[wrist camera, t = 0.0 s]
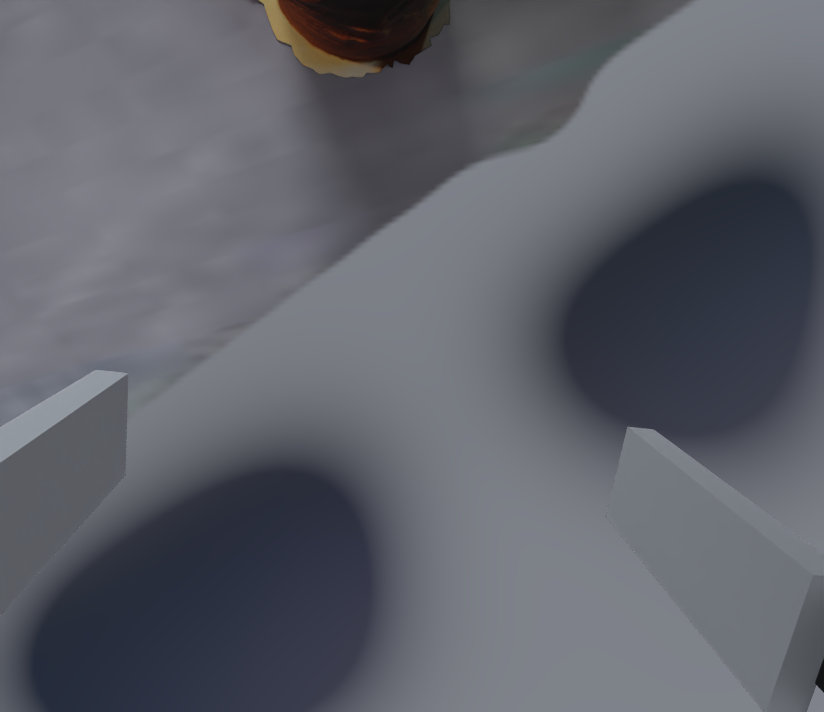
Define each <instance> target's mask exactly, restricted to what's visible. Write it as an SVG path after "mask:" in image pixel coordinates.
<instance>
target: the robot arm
mask: <svg viewBox="0 0 824 712" xmlns="http://www.w3.org/2000/svg"><path fill="white" fill-rule="evenodd" d="M127 399H128V373H120V372H111V371H101V370H95V371H93V372H91V373H90V374H88V375H86V376H85V377H83V378H81V379H80V380H78V381H76V382H75V383H73V384H71V385H69V386H68V387H66V388H64V389H63V390H61V391H59V392H58V393H56V394H54V395H53V396H51V397H49V398H48V399H46V400H44V401H43V402H41V403H39V404H38V405H36V406H34V407H33V408H31V409H29V410H28V411H26V412H24V413H23V414H21V415H19V416H18V417H16V418H14V419H13V420H11V421H9V422H8V423H6V424H4V425H3V426H1V427H0V616H1V615H2V614H3V613H4V612H5V610H6V609H7V608H8V607H9V606H10V605H11V604H12V603H13V601H14V600H15V599H16V598H17V597H18V596H19V594H20V593H21V592H22V591H23V590H24V589H25V588H26V587H27V586H28V585H29V583H30V582H31V581H32V580H33V579H34V578H35V577H36V575H37V574H38V573H39V572H40V571H41V570H42V569H43V568H44V567H45V565H46V564H47V563H48V562H49V561H50V560H51V559H52V557H53V556H54V555H55V554H56V553H57V552H58V551H59V550H60V549H61V547H62V546H63V545H64V544H65V543H66V542H67V541H68V539H69V538H70V537H71V536H72V535H73V534H74V533H75V532H76V530H77V529H78V528H79V527H80V526H81V525H82V524H83V522H84V521H85V520H86V519H87V518H88V517H89V516H90V515H91V514H92V512H93V511H94V510H95V509H96V508H97V507H98V506H99V505H100V503H101V502H102V501H103V500H104V499H105V498H106V497H107V496H108V494H109V493H110V492H111V491H112V490H113V489H114V487H115V486H116V485H117V484H118V483H119V482H120V481H121V480H122V479H123V478H124V476H125V470H126V435H127V432H126V430H127ZM606 518H607V519H608V520H609V522H610V523H611V524H612V525H613V527H614V528H615V529H616V530H617V531H618V533H619V534H620V535H621V536H622V538H623V539H624V540H625V541H626V543H627V544H628V545H629V546H630V548H631V549H632V550H633V551H634V552H635V554H636V555H637V556H638V557H639V559H640V560H641V561H642V562H643V563H644V565H645V566H646V567H647V568H648V570H649V571H650V572H651V573H652V575H653V576H654V577H655V578H656V579H657V581H658V582H659V583H660V585H662V587H663V588H664V589H665V591H666V592H667V593H668V594H669V596H670V597H671V598H672V599H673V601H674V602H675V603H676V604H677V605H678V607H679V608H680V609H681V610H682V612H683V613H684V614H685V615H686V616H687V618H688V619H689V620H690V622H691V623H692V624H693V625H694V627H695V628H696V629H697V630H698V631H699V633H700V634H701V635H702V636H703V638H704V639H705V640H706V641H707V643H708V644H709V645H710V646H711V647H712V649H713V650H714V651H715V652H716V654H717V655H718V656H719V657H720V659H721V660H722V661H723V662H724V664H725V665H726V666H727V667H728V668H729V670H730V671H731V672H732V673H733V675H734V676H735V677H736V678H737V680H738V681H739V682H740V683H741V685H742V686H743V687H744V688H745V689H746V691H747V692H748V693H749V694H750V696H751V697H752V698H753V699H754V701H755V702H756V703H757V704H758V705H759V707H760V708H761V709H762V710H763V712H806V711H807V709H808V706H809V703H810V701H811V698H812V695H813V693H814V690H815V687H816V685H817V686H818V687H819V688H820V689H821V690H822V691H823V692H824V555H823V554H822V553H820V552H819V551H818V550H816V549H815V548H814V547H812V546H811V545H810V544H808V543H807V542H806V541H804V540H803V539H802V538H800V537H799V536H797V535H796V534H795V533H793V532H792V531H791V530H789V529H788V528H786V527H785V526H784V525H783V524H781V523H780V522H778V521H777V520H776V519H774V518H773V517H771V516H770V515H769V514H768V513H766V512H765V511H763V510H762V509H761V508H759V507H758V506H757V505H755V504H754V503H753V502H751V501H750V500H749V499H747V498H746V497H745V496H743V495H742V494H740V493H739V492H738V491H736V490H735V489H734V488H732V487H731V486H730V485H728V484H727V483H725V482H724V481H723V480H721V479H720V478H719V477H717V476H716V475H715V474H713V473H712V472H711V471H709V470H708V469H707V468H705V467H704V466H702V465H701V464H699V463H698V462H697V461H695V460H694V459H693V458H692V457H690V456H689V455H688V454H686V453H685V452H683V451H682V450H681V449H679V448H678V447H677V446H675V445H674V444H673V443H671V442H670V441H669V440H667V439H665V438H664V437H663V436H662V435H660V434H659V433H658V432H656V431H655V430H653V429H644V428H635V427H627V431H626V435H625V439H624V443H623V448H622V452H621V456H620V460H619V464H618V468H617V472H616V476H615V480H614V484H613V489H612V493H611V497H610V501H609V505H608V509H607V513H606Z"/></svg>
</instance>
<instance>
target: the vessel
mask: <svg viewBox="0 0 824 712" xmlns="http://www.w3.org/2000/svg"><path fill="white" fill-rule="evenodd" d="M259 1H260V2H262V3H263V4H264V6H265V9H266V13H267V15H268V18H269V21H270V24H271V27H272V29H273V32H274V34H275V36H276V38H277V40H279V41H282V42H284V43H287V44H289V45H291V46H292V49H293V52H294V55H295V56H296V57H297V59H298V60H299V61H300V62H301V63H302V64H303V65H304V66H306V67H309V68H312V69H313V70H314V71H316V72H317V73H318V74H326V73H332V74H335V75H337V76H340V77H344V78H348V77H364V75H365V74H366V73H379V72H380V71H381V70H382V69H383V68H384V67H385V66H386V65H387V64H388V65H389V66H390V67H393V61H394V60H396V61H398V62H400V63H403V64H408V65H409V64H410V63H411V61H412V60H413V58H414V57H415V55H417V54H418V53H420V52H421V51H423V50H425V49H426V48H428V47H430V46H431V40H430V38H431V37H434V36H437V35H438V34H439V33H440V32H441V30H442V28H443V25H447V24H450V8H449V1H450V0H259Z"/></svg>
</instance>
